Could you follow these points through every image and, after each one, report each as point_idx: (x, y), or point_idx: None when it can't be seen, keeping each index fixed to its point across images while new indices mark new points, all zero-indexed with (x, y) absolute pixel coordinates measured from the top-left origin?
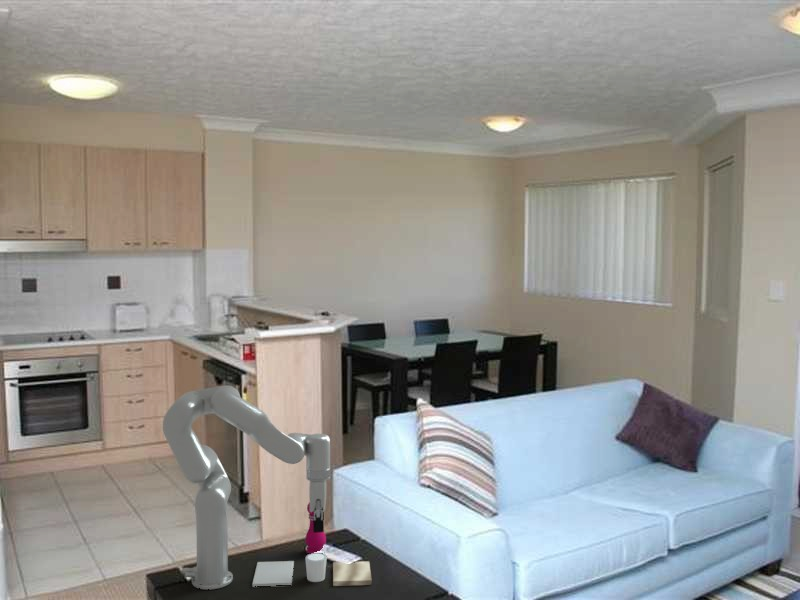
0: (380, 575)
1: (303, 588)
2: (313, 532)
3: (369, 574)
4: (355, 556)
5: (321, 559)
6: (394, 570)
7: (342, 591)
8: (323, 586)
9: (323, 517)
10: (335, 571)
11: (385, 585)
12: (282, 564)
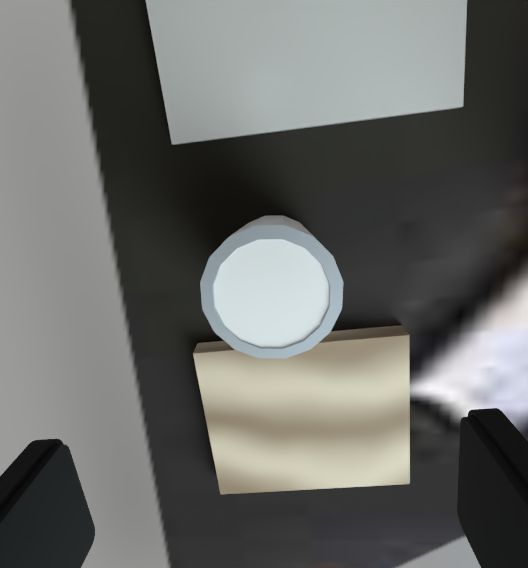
0: (309, 505)
1: (158, 212)
2: None
3: (273, 486)
4: (513, 413)
5: (238, 331)
6: (354, 547)
7: (153, 382)
8: (189, 302)
9: (478, 557)
10: (299, 354)
11: (224, 519)
12: (416, 35)
